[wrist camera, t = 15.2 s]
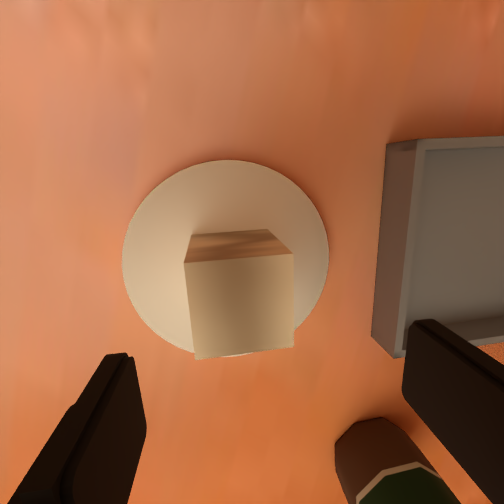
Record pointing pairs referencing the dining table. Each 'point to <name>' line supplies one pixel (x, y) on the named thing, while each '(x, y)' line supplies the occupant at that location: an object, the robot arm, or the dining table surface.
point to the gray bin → (441, 240)
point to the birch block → (239, 293)
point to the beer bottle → (386, 467)
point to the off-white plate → (215, 221)
